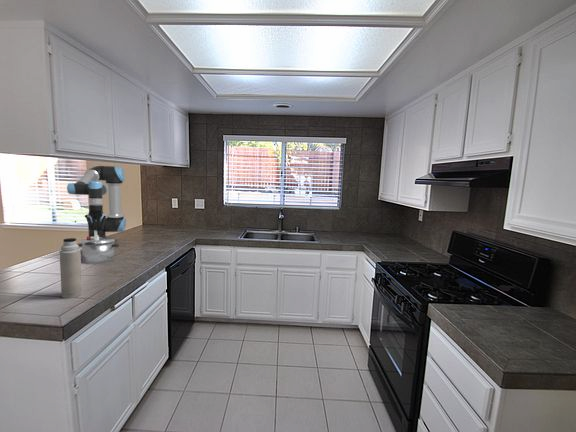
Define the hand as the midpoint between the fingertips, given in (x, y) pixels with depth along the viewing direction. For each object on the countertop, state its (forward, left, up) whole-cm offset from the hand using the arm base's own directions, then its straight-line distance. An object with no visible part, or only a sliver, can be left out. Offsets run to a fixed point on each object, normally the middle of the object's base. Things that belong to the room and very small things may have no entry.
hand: (96, 239), depth 194 cm
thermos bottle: (+58, +14, -15) cm, 62 cm away
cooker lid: (0, 0, -2) cm, 2 cm away
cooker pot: (-2, 0, -15) cm, 15 cm away
